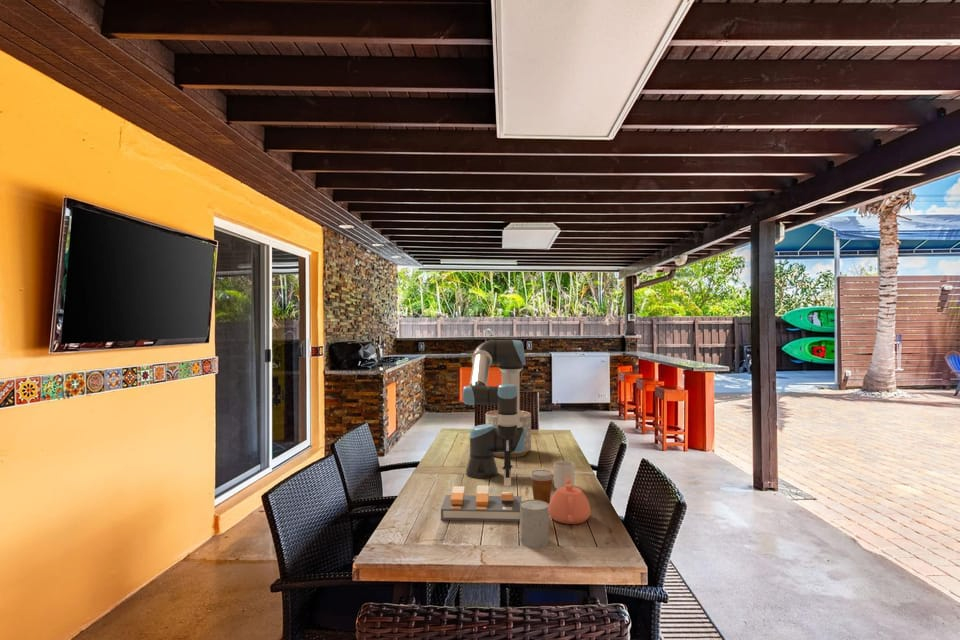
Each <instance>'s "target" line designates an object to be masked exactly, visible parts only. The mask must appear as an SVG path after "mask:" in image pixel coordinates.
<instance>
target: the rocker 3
mask: <svg viewBox="0 0 960 640" xmlns="http://www.w3.org/2000/svg"><path fill="white" fill-rule="evenodd" d="M500 496H501V500H511V501H514V496H515V494H514V492H513V491H501V495H500Z"/></svg>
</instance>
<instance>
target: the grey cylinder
mask: <svg viewBox="0 0 960 640" xmlns="http://www.w3.org/2000/svg"><path fill="white" fill-rule="evenodd" d="M548 507H549V504H548V503H546V502H544V501H541V500H534V499H527V500H525V499H524V500H522V502H521V503H520V522H519V543H520V544H521V545H523V546H524V547H527V548H531V547H532V549H535V548H536V549H538V548H543V547H546V546H548V545H549V543H550V542H549V512H548Z"/></svg>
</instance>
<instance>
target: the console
mask: <svg viewBox="0 0 960 640" xmlns="http://www.w3.org/2000/svg"><path fill="white" fill-rule="evenodd" d="M450 499H451V494H445V496H444V499H443V502H442V504H441V507H440V521H470V522H471V521H474V522H515V523H517V522H519V523H520V503H521V502H522V501H523V500H522V496H520V495H514V501H511V500H501V495H489V497H488V506H476V495H474V494H473V495H469V494H468V495H467V494H466V495H465V494H464V499H463V505H462V504H451V502H450Z"/></svg>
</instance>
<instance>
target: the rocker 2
mask: <svg viewBox="0 0 960 640" xmlns="http://www.w3.org/2000/svg"><path fill="white" fill-rule="evenodd" d="M489 486H490V485H479V484H478V485H477V486H476V495H475V496H476V506H488V497H489V496H490V495H489V494H490V487H489Z"/></svg>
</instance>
